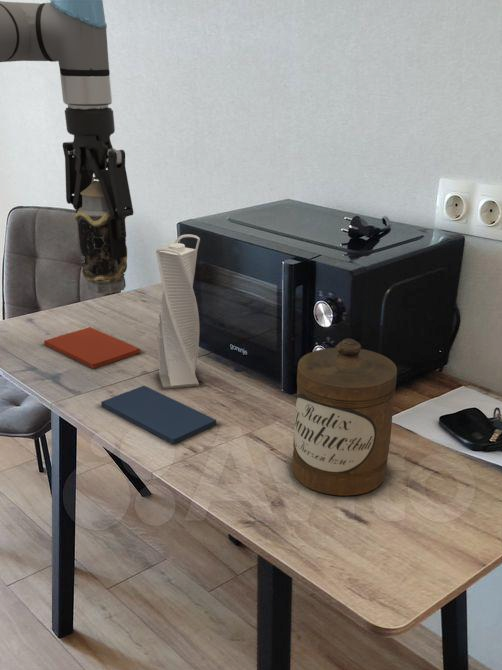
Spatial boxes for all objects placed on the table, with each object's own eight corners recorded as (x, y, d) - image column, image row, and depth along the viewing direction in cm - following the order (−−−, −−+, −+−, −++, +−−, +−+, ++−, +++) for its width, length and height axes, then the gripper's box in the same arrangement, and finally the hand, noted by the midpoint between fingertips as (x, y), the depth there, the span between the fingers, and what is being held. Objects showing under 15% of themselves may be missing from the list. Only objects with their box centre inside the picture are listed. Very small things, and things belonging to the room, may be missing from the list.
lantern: (74, 286, 126) (54, 133, 113) (110, 277, 132) (96, 129, 118) (103, 298, 122) (86, 139, 108) (140, 288, 127) (128, 135, 113)
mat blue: (101, 406, 129) (101, 401, 129) (144, 390, 135) (144, 385, 135) (173, 444, 118) (173, 439, 117) (216, 424, 124) (216, 419, 124)
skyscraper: (199, 370, 144) (195, 229, 128) (207, 387, 137) (203, 240, 122) (158, 374, 142) (148, 231, 126) (164, 391, 135) (154, 242, 120)
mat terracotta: (44, 344, 153) (43, 340, 153) (90, 331, 161) (90, 326, 160) (93, 368, 143) (93, 364, 143) (140, 352, 151) (139, 348, 150)
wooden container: (275, 478, 110) (280, 345, 98) (318, 439, 121) (327, 315, 109) (362, 507, 104) (378, 369, 92) (399, 463, 114) (418, 335, 103)
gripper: (149, 110, 108) (159, 260, 120) (70, 100, 119) (85, 238, 131) (110, 113, 103) (124, 269, 115) (30, 102, 114) (51, 245, 127)
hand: (103, 252), depth 123 cm, fingers closed on lantern, 8 cm apart
